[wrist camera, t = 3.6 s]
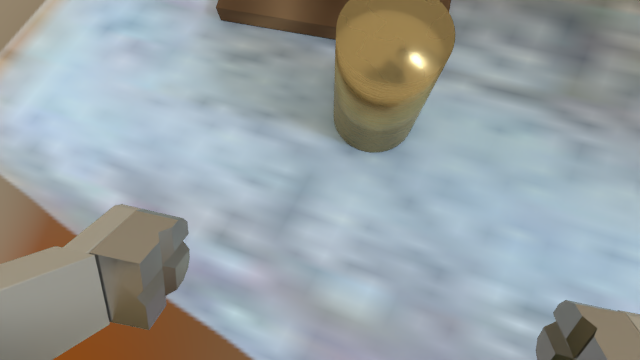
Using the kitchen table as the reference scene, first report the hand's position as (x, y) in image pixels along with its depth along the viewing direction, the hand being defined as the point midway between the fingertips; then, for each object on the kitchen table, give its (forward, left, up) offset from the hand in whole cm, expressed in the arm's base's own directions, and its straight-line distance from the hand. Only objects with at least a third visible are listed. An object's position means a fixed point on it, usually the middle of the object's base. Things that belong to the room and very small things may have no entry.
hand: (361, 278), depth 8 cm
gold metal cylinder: (0, -10, -13) cm, 17 cm away
